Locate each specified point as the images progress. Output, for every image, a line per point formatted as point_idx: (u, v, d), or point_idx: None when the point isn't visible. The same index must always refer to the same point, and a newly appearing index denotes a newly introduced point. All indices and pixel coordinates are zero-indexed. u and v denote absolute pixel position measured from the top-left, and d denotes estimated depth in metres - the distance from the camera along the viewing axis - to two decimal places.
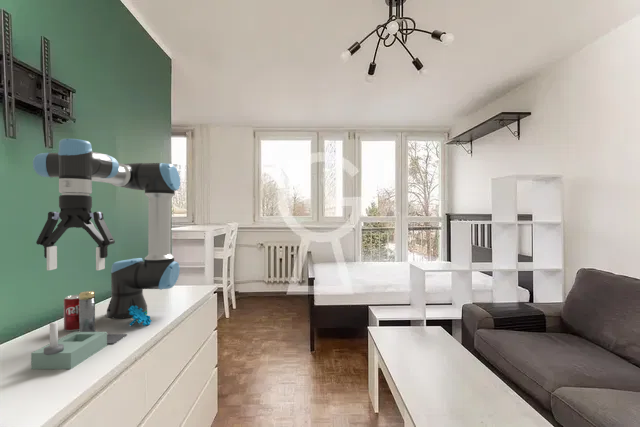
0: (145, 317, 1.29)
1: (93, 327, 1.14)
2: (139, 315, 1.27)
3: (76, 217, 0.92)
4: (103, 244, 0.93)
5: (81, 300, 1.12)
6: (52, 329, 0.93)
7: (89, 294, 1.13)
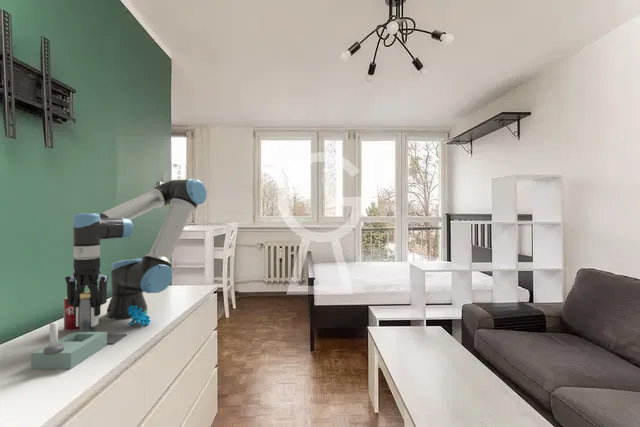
0: (144, 317, 1.29)
1: (93, 327, 1.14)
2: (138, 315, 1.27)
3: (87, 277, 1.12)
4: (96, 305, 1.13)
5: (81, 300, 1.12)
6: (52, 329, 0.93)
7: (89, 294, 1.13)
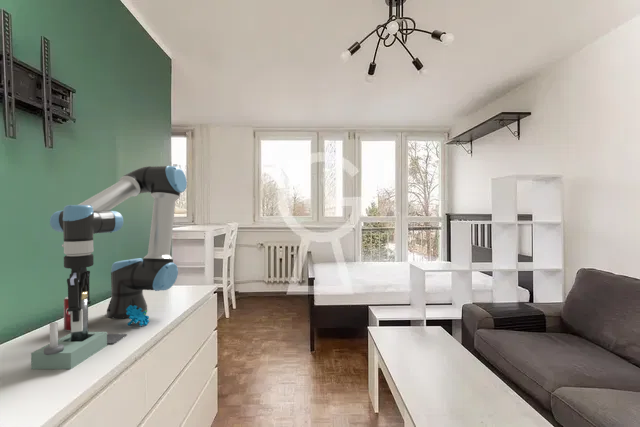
0: (143, 317, 1.29)
1: (77, 333, 1.02)
2: (136, 315, 1.27)
3: None
4: None
5: None
6: (52, 329, 0.93)
7: None
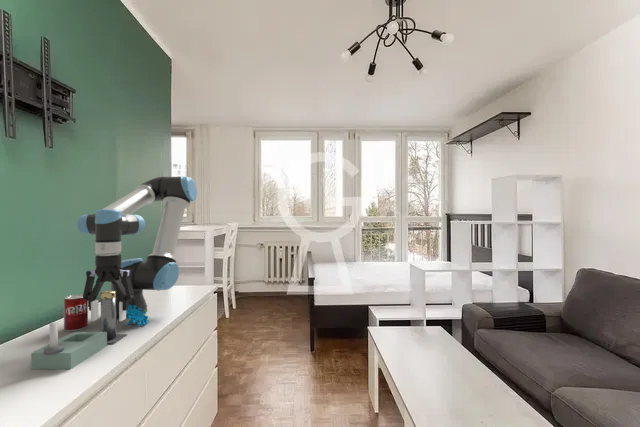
0: (142, 317, 1.29)
1: (114, 327, 1.13)
2: (135, 315, 1.27)
3: (109, 274, 1.11)
4: (125, 299, 1.12)
5: (102, 300, 1.11)
6: (52, 329, 0.93)
7: (110, 294, 1.12)
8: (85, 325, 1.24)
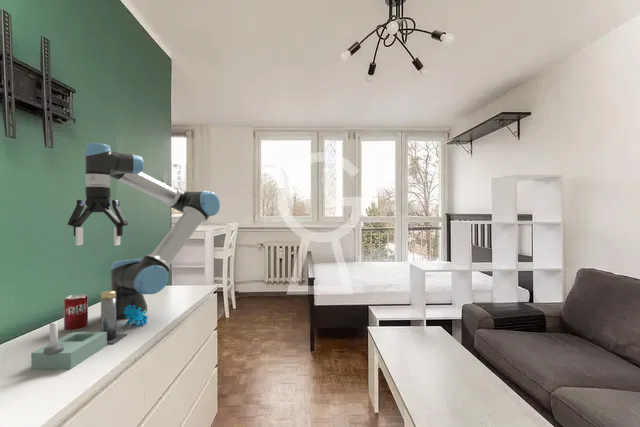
0: (141, 317, 1.29)
1: (115, 327, 1.13)
2: (134, 315, 1.27)
3: (98, 204, 1.18)
4: (119, 225, 1.19)
5: (103, 300, 1.11)
6: (52, 329, 0.93)
7: (111, 293, 1.12)
8: (85, 325, 1.24)
